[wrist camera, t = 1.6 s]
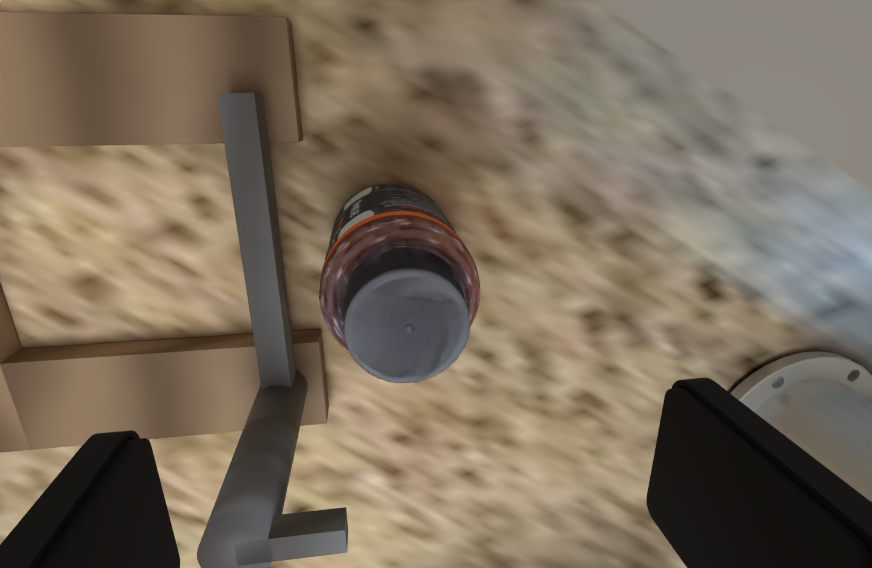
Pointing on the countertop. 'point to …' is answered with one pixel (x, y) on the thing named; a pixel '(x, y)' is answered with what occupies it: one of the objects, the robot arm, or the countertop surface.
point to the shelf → (259, 242)
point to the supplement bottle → (398, 284)
